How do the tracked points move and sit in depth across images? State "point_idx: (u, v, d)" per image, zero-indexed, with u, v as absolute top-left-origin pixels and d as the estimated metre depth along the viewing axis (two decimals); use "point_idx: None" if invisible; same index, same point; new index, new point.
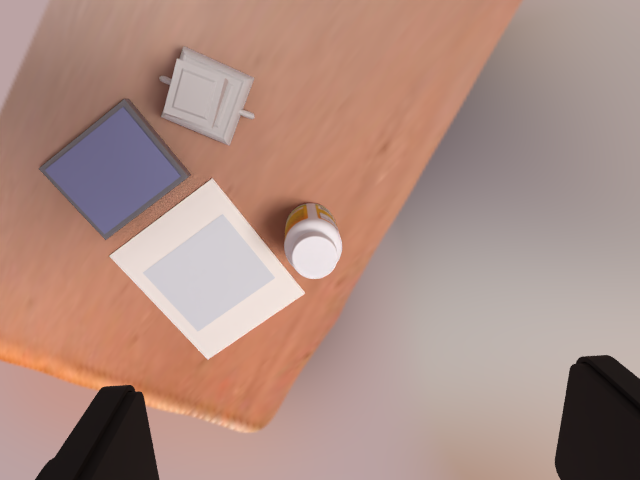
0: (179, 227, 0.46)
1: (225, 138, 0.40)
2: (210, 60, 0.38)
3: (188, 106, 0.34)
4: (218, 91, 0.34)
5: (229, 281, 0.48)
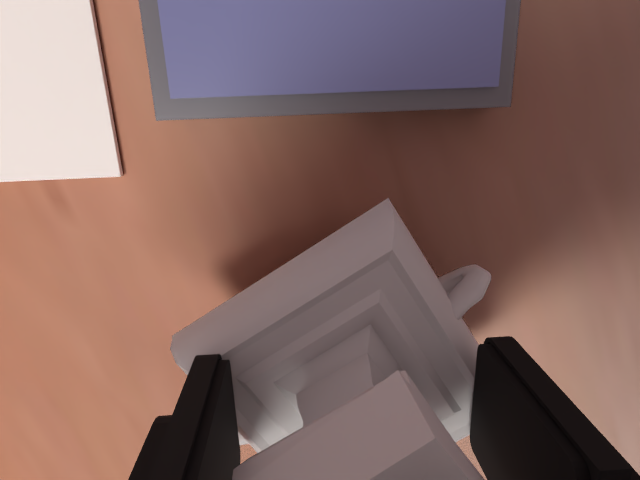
0: None
1: None
2: None
3: None
4: None
5: None
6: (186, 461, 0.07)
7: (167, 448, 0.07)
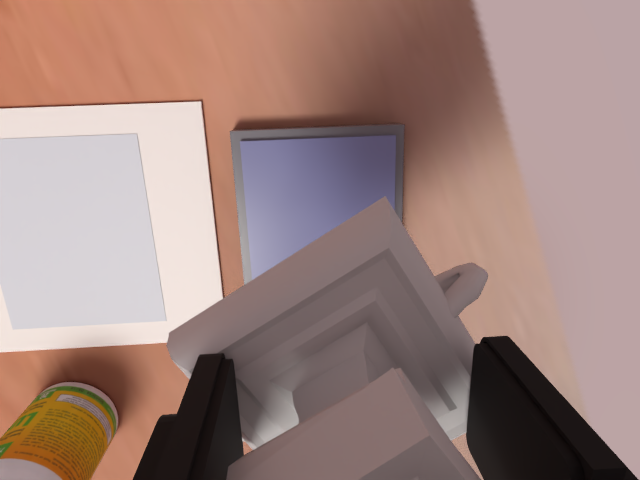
0: (182, 247, 0.25)
1: (186, 371, 0.10)
2: None
3: None
4: None
5: (41, 260, 0.25)
6: (191, 459, 0.07)
7: (172, 446, 0.07)
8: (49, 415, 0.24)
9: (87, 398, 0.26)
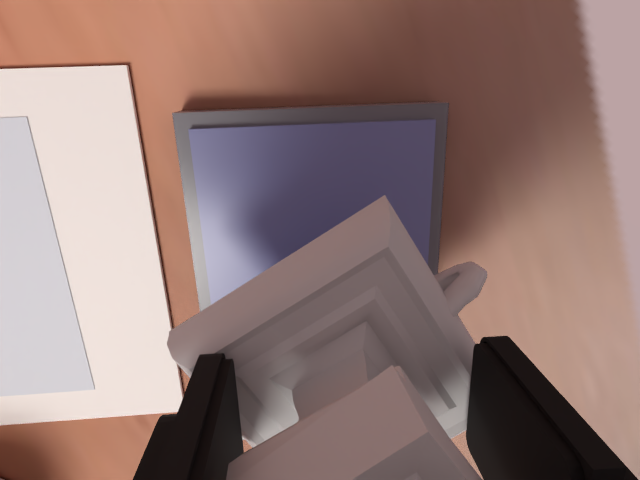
0: (111, 287, 0.17)
1: (187, 369, 0.10)
2: None
3: None
4: None
5: None
6: (192, 459, 0.07)
7: (172, 446, 0.07)
8: None
9: None
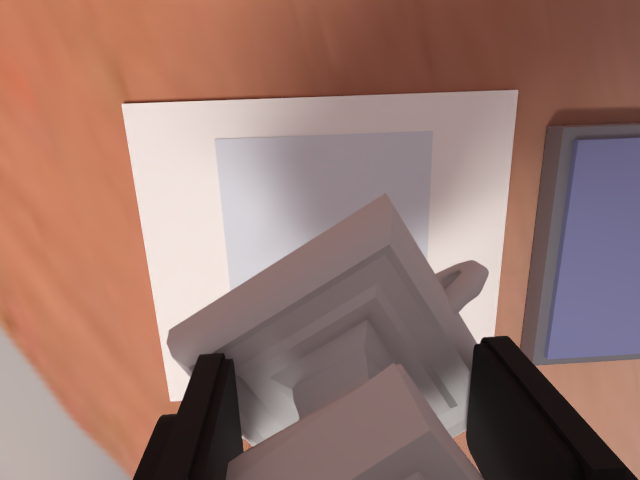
0: None
1: (186, 368, 0.10)
2: None
3: None
4: None
5: None
6: (191, 460, 0.07)
7: (172, 446, 0.07)
8: None
9: None
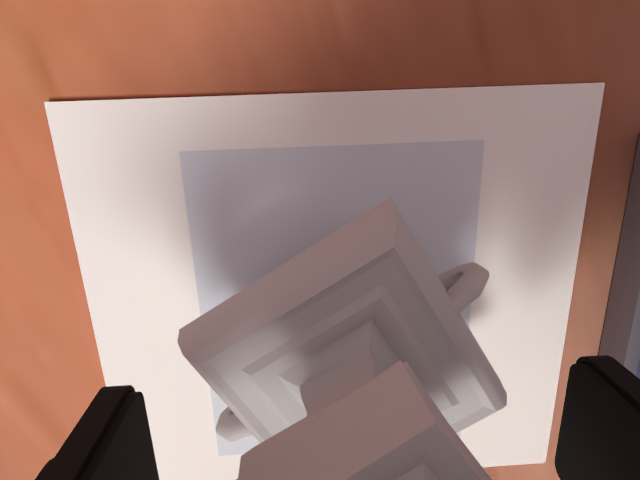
0: (511, 327, 0.15)
1: (197, 366, 0.11)
2: None
3: None
4: None
5: None
6: None
7: None
8: None
9: None
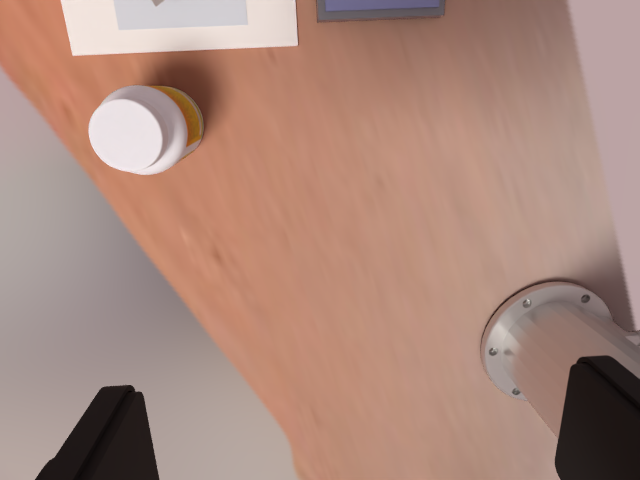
0: None
1: None
2: None
3: None
4: None
5: None
6: None
7: None
8: (158, 86, 0.29)
9: (182, 92, 0.31)
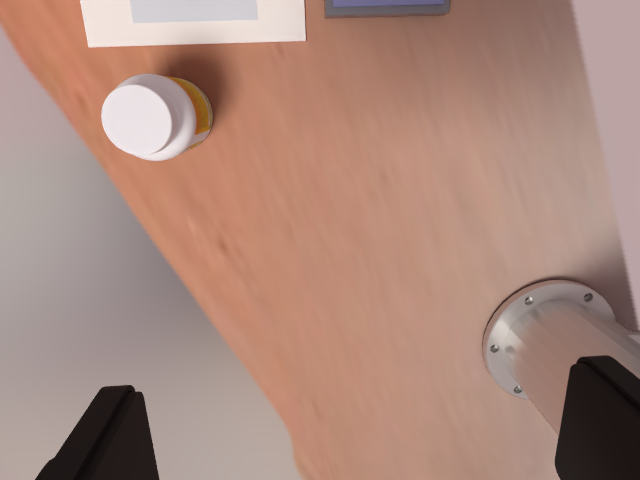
0: None
1: None
2: None
3: None
4: None
5: None
6: None
7: None
8: None
9: (192, 84, 0.32)
